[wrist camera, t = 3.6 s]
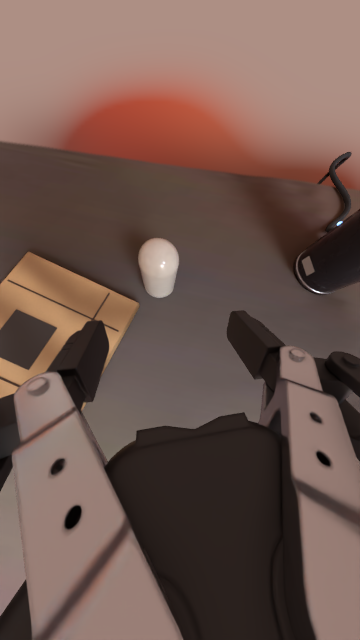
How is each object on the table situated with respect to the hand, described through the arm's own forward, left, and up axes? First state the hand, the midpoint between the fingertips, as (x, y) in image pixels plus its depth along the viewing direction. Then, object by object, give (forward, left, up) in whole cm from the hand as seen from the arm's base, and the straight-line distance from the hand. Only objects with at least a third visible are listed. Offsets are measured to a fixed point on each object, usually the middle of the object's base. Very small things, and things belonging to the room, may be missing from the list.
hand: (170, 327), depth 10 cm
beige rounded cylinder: (-9, -5, -15) cm, 18 cm away
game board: (+6, -15, -15) cm, 22 cm away
